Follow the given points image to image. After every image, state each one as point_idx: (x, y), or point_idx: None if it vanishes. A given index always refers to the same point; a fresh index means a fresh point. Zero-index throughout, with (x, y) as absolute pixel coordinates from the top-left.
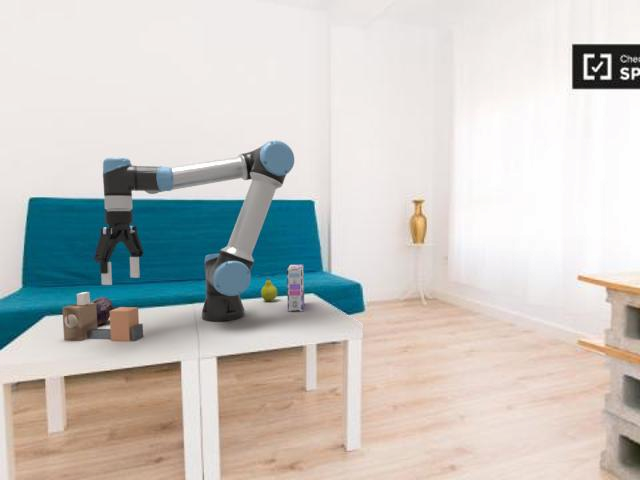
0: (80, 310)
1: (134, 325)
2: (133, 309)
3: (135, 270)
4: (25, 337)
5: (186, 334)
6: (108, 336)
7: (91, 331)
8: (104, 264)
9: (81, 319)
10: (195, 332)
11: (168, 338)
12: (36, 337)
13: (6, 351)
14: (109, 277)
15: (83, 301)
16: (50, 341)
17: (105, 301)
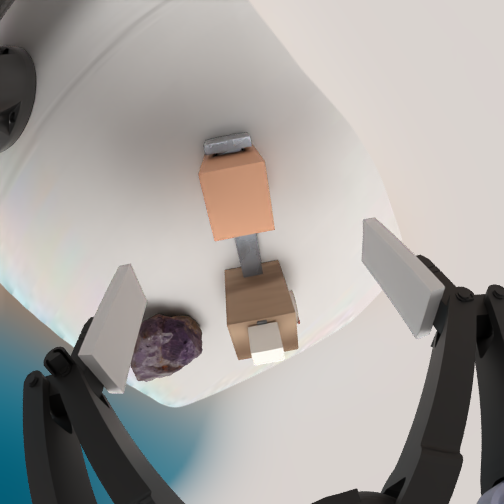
0: (292, 307)
1: (226, 156)
2: (229, 167)
3: (125, 302)
4: None
5: (153, 41)
6: None
7: (260, 262)
8: (454, 285)
9: (285, 291)
10: (131, 34)
11: (200, 59)
12: None
13: (351, 319)
14: (394, 237)
15: (276, 330)
16: None
17: (144, 356)
